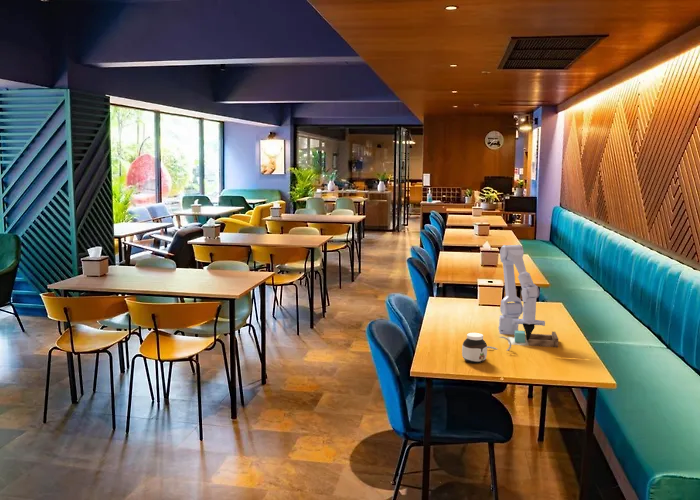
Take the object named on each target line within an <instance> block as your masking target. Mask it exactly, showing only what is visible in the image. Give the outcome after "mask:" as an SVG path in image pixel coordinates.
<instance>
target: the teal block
mask: <svg viewBox="0 0 700 500" xmlns="http://www.w3.org/2000/svg"><path fill="white" fill-rule="evenodd" d="M514 337H515V338H514V340H515V342H518V343H525V338H526V332H525V330H518V331H515V335H514Z"/></svg>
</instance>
